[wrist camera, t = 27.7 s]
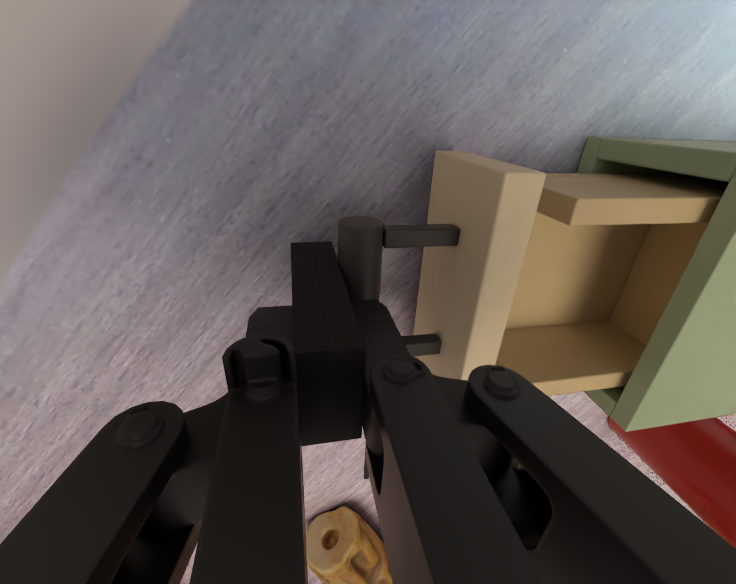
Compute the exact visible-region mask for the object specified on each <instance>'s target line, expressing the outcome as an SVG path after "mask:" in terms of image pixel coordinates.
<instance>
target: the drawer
mask: <svg viewBox="0 0 736 584" xmlns="http://www.w3.org/2000/svg"><path fill="white" fill-rule="evenodd" d="M727 186H728V185H723V184H718V183H712V182H707V181H702V180H696V179H691V178H682V177H679V176H674V175H668V174H585V173H544V172H541V171H537V170H533V169H530V168H526V167H522V166H518V165H515V164H511V163H507V162H503V161H499V160H496V159H492V158H488V157H484V156H480V155H477V154H473V153H469V152H465V151H436V153H435V161H434V170H433V178H432V186H431V194H430V202H429V210H428V219H427V224H418V225H384V223H383V221H382V220H380V219H377V218H374V217H369V216H348V217H344V218H341V219H340V220H339V221H338V264H339V266H340V269H341V272H342V275H343V278H344V281H345V285H346V288H347V291H348V294H349V297H350V300H351V301H355V300H372V299H376V300H378V301H379V294H380V279H381V263H382V247H383V246H384V248H403V247H424V251H423V259H422V267H421V276H420V284H419V292H418V300H417V308H416V316H415V325H414V333H413V335H410V336H401V337H402V339H403V341H404V343H405V345H406V347H407V349H408V351H409V354H410V356H416V358H417V359H419V360H420V361H422V362H424V364H425V365H426V366H427V367H428V368H429V369H430V371H431V373H432V374H434V375H436V376H440V377H445V378H452V379H460V380H467V381H468V377H469V375H470V373H471V371H472V370H473V369H475V368H477V367H478V366H483V365H497V366H503V367H505V368H508V369H511V370H513V371H515V372H517V373H518V374H520V375H521V376H523V377H524V378H526V379H527V380H528V381H529V382H531V383H532V384H533V385H534V386H536V387H537V388H538V389H539V390H541V391H542V392H543V393H544V394H545V395H547V396H552V395H560V394H567V393H575V392H582V391H590V390H597V389H605V388H613V387H620V386H626V384H627V382H628V380H629V379H630V377H631V375H632V373H633V371H634V369H635V367H636V365H637V363H638V361H639V359H640V357H641V355H642V353H643V351H644V349H645V347H646V345H647V343H648V341H649V339H650V337H651V335H652V333H653V331H654V329H655V327H656V325H657V324H658V322H659V320H660V318H661V316H662V314H663V312H664V310H665V308H666V306H667V304H668V302H669V300H670V298H671V296H672V294H673V292H674V290H675V288H676V286H677V284H678V282H679V280H680V278H681V276H682V274H683V272H684V270H685V268H686V267H687V265H688V263H689V261H690V259H691V257H692V255H693V253H694V251H695V249H696V247H697V245H698V243H699V241H700V239H701V237H702V235H703V233H704V231H705V229H706V227H707V225H708V223H709V221H710V219H711V217H712V215H713V213H714V212H715V210H716V208H717V206H718V204H719V202H720V200H721V198H722V196H723V194H724V192H725V190H726V188H727Z"/></svg>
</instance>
